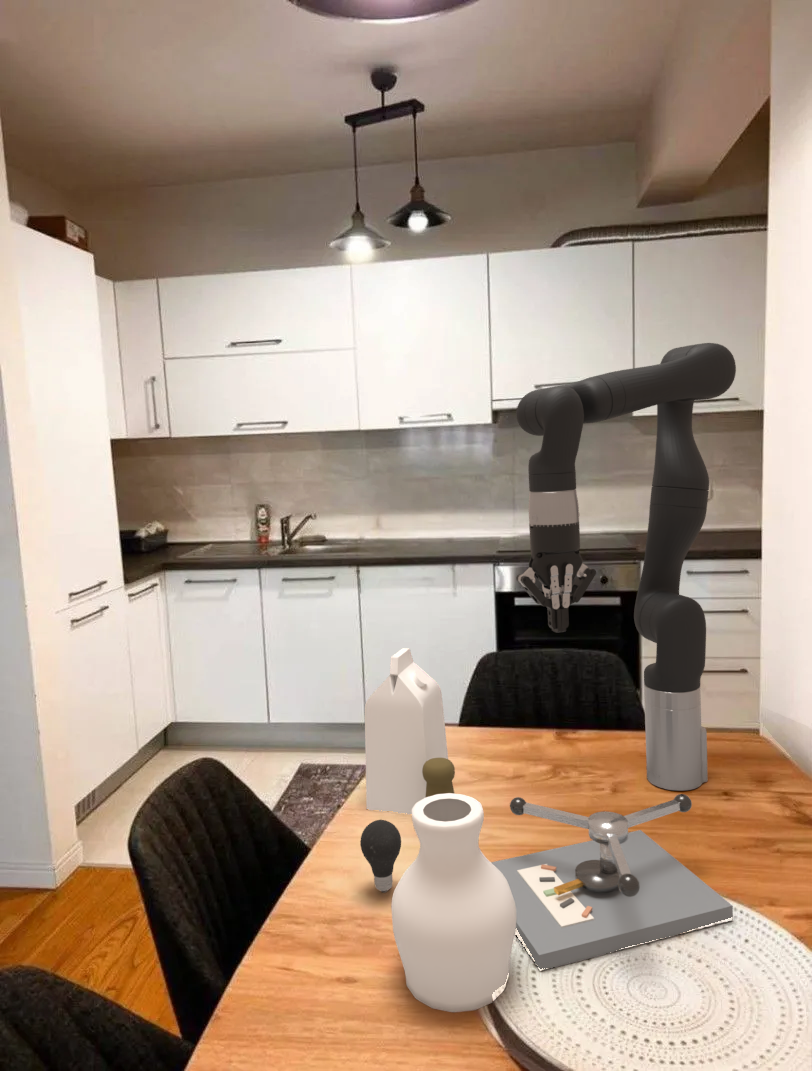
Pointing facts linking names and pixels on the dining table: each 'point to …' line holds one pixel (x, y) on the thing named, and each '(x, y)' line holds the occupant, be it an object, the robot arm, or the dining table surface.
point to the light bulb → (381, 851)
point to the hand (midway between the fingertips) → (558, 631)
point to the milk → (402, 735)
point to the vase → (453, 909)
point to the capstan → (604, 843)
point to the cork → (438, 776)
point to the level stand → (605, 902)
